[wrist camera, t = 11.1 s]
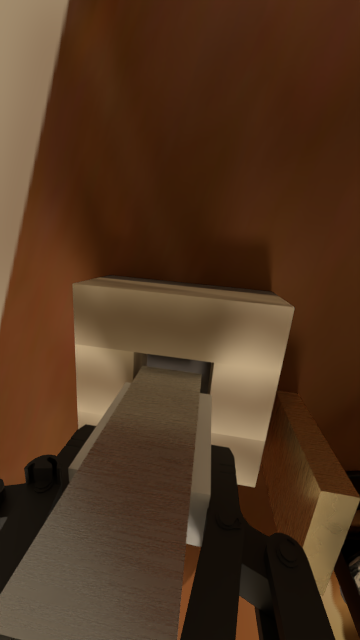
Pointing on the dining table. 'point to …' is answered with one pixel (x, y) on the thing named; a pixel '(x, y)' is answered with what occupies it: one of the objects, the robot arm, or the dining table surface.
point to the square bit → (116, 527)
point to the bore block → (185, 351)
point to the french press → (350, 565)
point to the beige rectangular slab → (307, 485)
